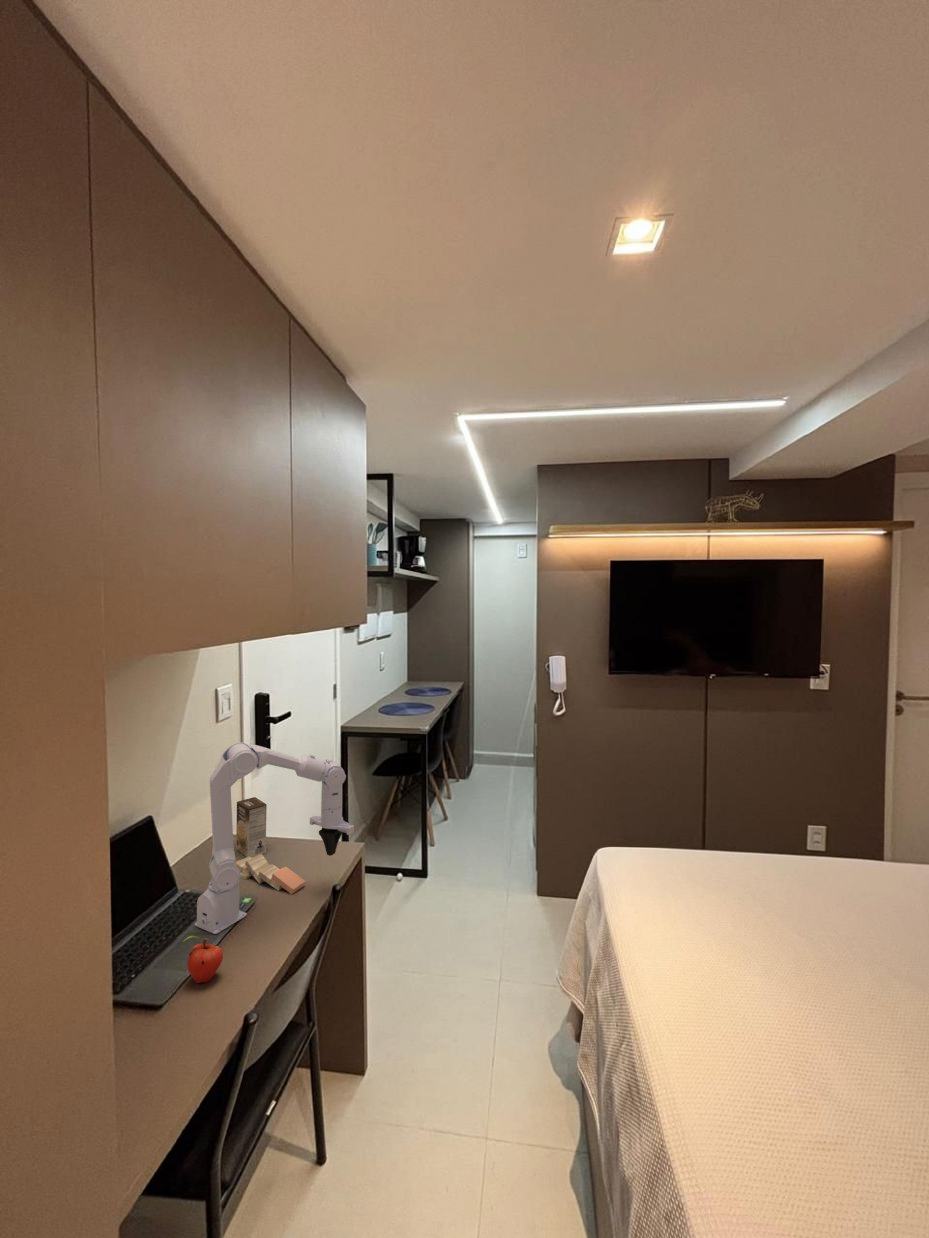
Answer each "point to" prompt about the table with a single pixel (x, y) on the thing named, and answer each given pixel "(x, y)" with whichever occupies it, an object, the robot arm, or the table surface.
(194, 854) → the table surface
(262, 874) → the cream domino
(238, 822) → the coffee box
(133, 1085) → the table surface
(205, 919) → the robot arm
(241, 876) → the cream domino
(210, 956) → the apple
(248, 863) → the cream domino
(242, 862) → the cream domino
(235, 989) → the table surface
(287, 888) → the terracotta domino
